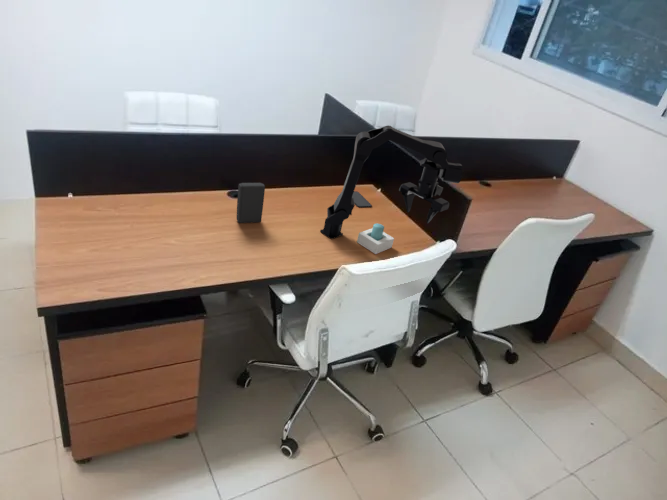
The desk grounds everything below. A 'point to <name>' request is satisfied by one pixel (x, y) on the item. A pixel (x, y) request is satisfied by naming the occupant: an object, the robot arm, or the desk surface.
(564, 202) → the desk surface
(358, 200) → the smartphone
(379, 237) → the peg
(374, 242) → the socket
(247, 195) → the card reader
